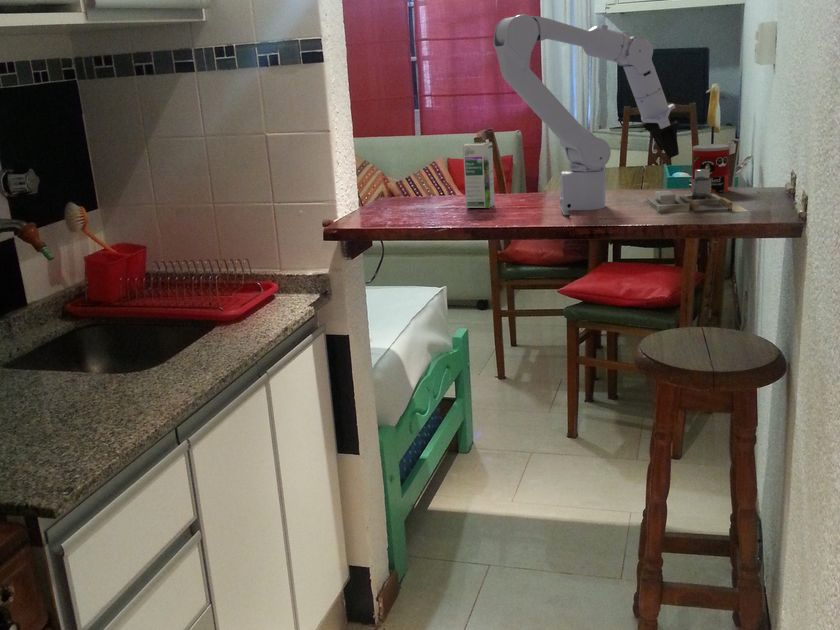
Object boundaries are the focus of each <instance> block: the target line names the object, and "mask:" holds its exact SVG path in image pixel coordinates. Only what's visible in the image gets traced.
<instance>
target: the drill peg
mask: <svg viewBox="0 0 840 630" xmlns="http://www.w3.org/2000/svg"><path fill="white" fill-rule="evenodd" d="M709 172H710V170H709V169H696V170H695V179H693V185H692V192H691V195H692V199H693V200H702V199H711V179H709Z"/></svg>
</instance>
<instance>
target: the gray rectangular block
mask: <svg viewBox="0 0 840 630" xmlns="http://www.w3.org/2000/svg"><path fill="white" fill-rule="evenodd" d="M676 197H677V196H676V194H675V193H674V192H672V191H671V190H654V200H655V201H656V202H658V203H659V204H660V205H671V204H675V199H676Z"/></svg>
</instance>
